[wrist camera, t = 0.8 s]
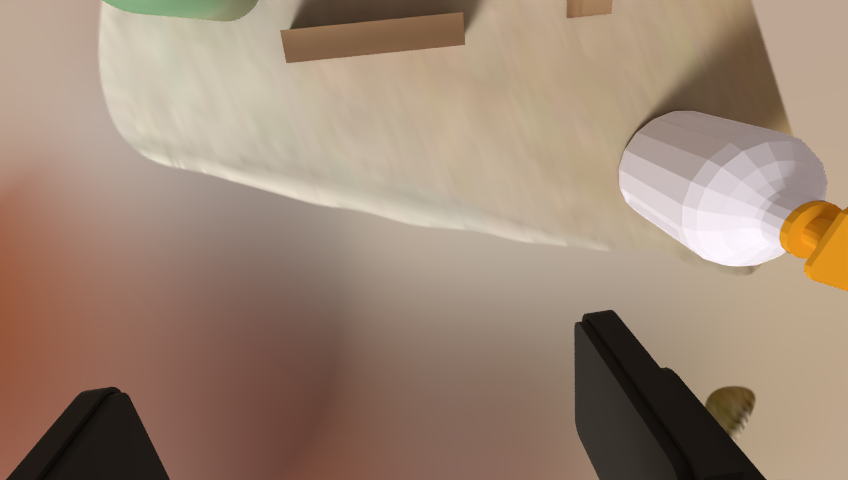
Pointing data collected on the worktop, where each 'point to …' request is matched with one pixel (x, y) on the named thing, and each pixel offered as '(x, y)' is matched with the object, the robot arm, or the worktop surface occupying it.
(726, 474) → the robot arm
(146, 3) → the bottle
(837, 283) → the soap bottle
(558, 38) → the worktop surface
